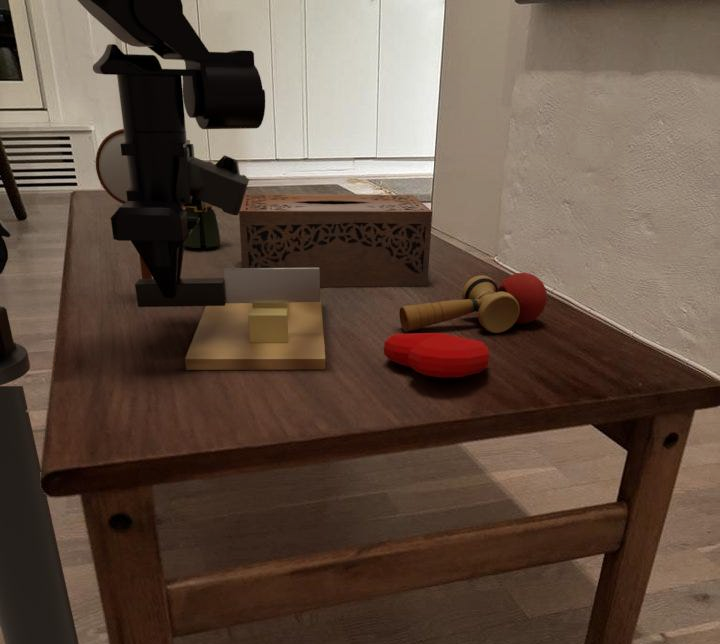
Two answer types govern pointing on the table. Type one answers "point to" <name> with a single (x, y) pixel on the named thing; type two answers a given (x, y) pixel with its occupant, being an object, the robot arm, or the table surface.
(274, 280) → the knife
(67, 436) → the table surface
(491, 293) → the kendama
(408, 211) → the tissue box cover
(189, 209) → the character mug
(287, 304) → the butter block
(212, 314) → the board
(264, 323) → the butter slice
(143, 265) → the magnifying glass
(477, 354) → the heart
